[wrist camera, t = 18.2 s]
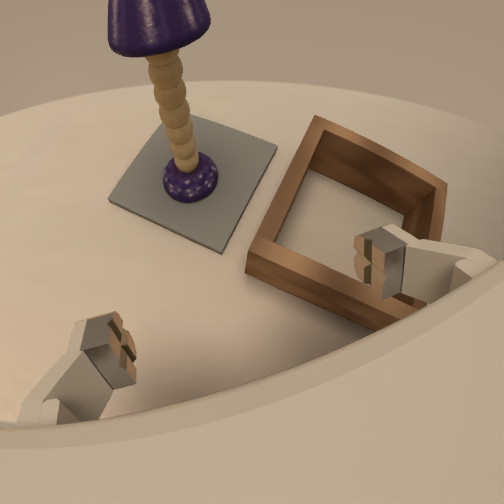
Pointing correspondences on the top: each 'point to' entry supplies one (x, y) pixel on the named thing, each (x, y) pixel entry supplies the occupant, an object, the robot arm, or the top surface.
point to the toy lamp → (167, 80)
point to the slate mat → (212, 206)
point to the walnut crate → (367, 182)
